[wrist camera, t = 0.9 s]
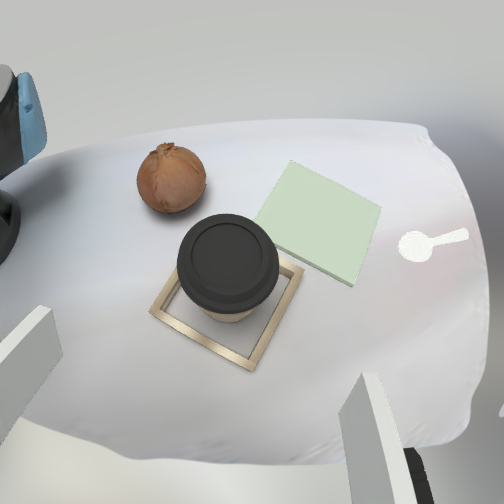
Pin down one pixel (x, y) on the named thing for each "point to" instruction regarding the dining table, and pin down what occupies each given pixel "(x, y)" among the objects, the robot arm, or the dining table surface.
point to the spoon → (426, 243)
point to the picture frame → (158, 311)
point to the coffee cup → (227, 266)
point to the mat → (319, 222)
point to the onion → (171, 178)
